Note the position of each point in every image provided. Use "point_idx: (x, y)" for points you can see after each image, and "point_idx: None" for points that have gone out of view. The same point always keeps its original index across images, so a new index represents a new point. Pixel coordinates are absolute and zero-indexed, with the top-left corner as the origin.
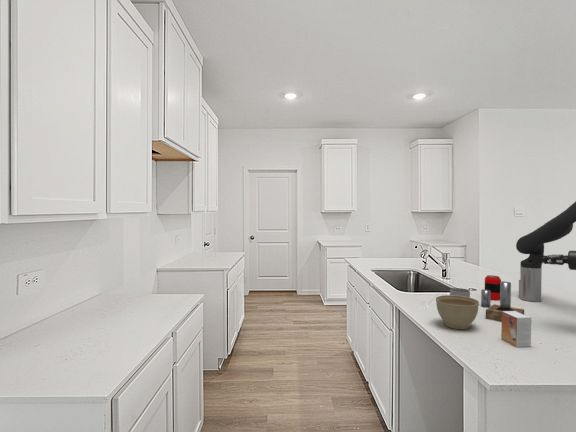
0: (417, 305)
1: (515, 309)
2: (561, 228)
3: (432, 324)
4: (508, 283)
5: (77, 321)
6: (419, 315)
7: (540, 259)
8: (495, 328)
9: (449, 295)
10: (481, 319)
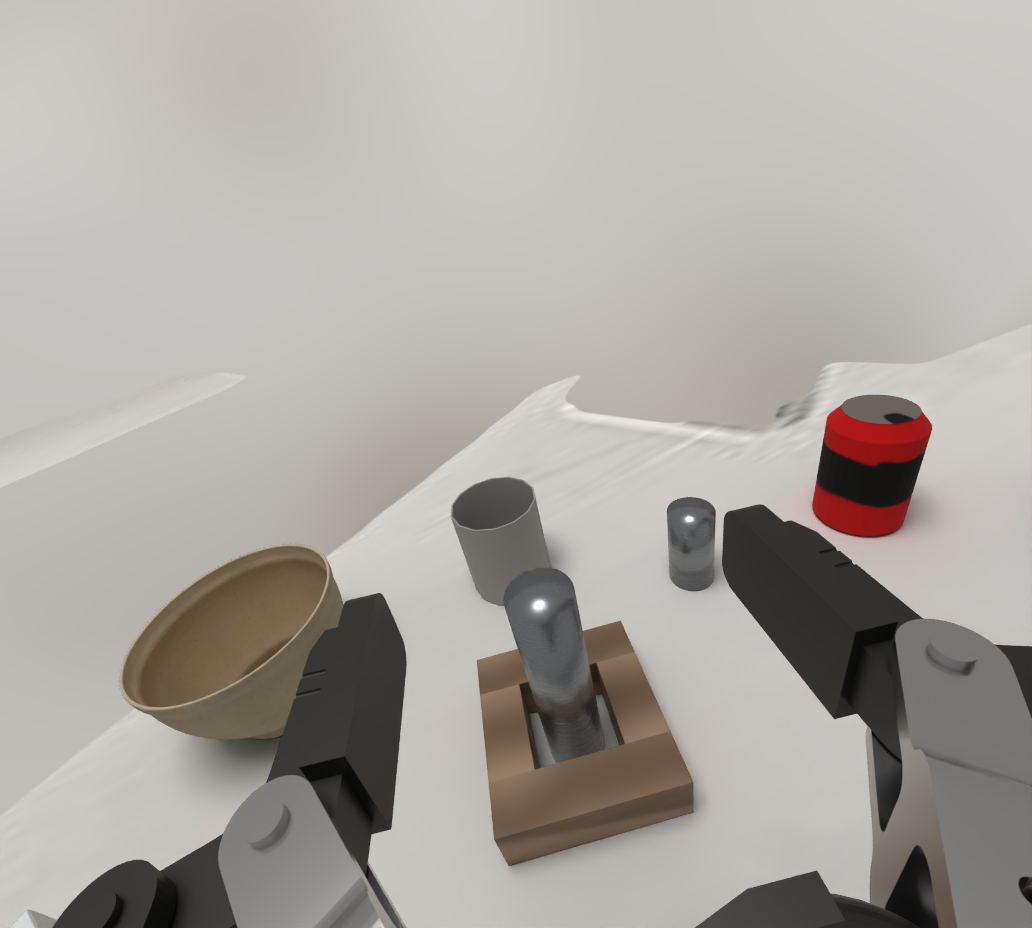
0: None
1: (631, 746)
2: None
3: None
4: (518, 621)
5: (51, 429)
6: (350, 557)
7: (297, 767)
8: None
9: (315, 552)
10: (461, 686)
